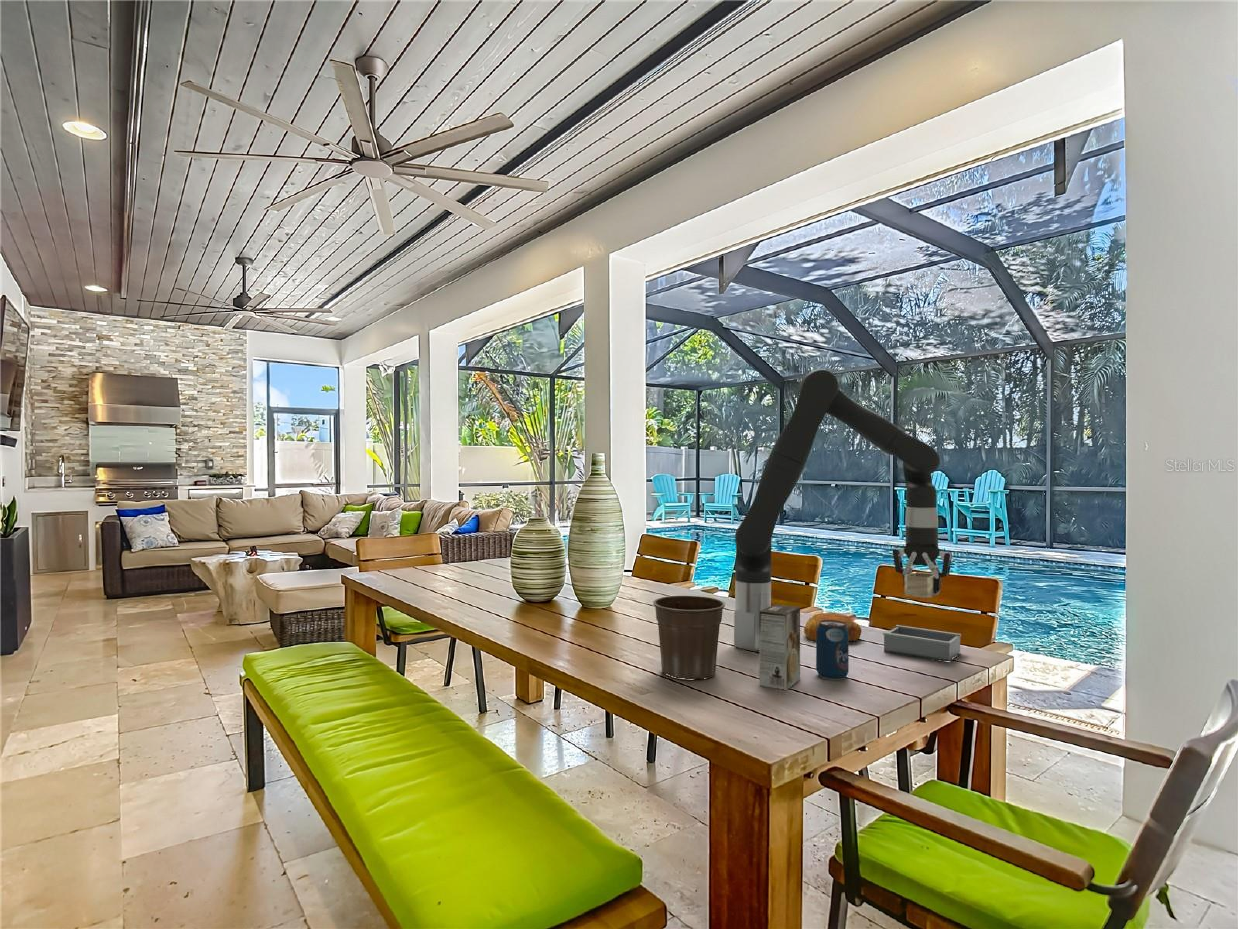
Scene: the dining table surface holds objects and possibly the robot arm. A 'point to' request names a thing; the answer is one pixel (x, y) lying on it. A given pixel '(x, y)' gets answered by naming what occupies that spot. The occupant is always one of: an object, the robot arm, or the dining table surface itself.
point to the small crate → (919, 585)
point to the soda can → (832, 650)
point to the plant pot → (688, 635)
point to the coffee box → (779, 646)
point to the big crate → (922, 643)
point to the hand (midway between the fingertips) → (922, 591)
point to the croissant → (850, 624)
